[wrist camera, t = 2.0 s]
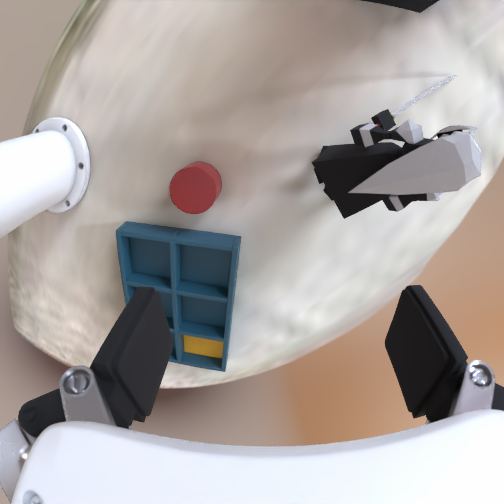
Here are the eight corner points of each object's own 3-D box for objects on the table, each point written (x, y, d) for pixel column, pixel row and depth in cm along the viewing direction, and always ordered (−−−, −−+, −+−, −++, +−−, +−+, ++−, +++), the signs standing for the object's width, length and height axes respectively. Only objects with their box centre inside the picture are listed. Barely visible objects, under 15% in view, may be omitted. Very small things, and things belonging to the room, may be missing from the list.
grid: (142, 341, 39) (136, 353, 37) (126, 221, 29) (115, 230, 27) (227, 358, 39) (225, 372, 37) (241, 236, 30) (238, 247, 27)
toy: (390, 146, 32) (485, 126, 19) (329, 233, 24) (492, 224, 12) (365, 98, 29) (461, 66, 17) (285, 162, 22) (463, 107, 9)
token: (178, 202, 28) (168, 211, 25) (180, 160, 26) (170, 165, 23) (219, 207, 28) (214, 216, 25) (223, 164, 26) (218, 169, 23)
